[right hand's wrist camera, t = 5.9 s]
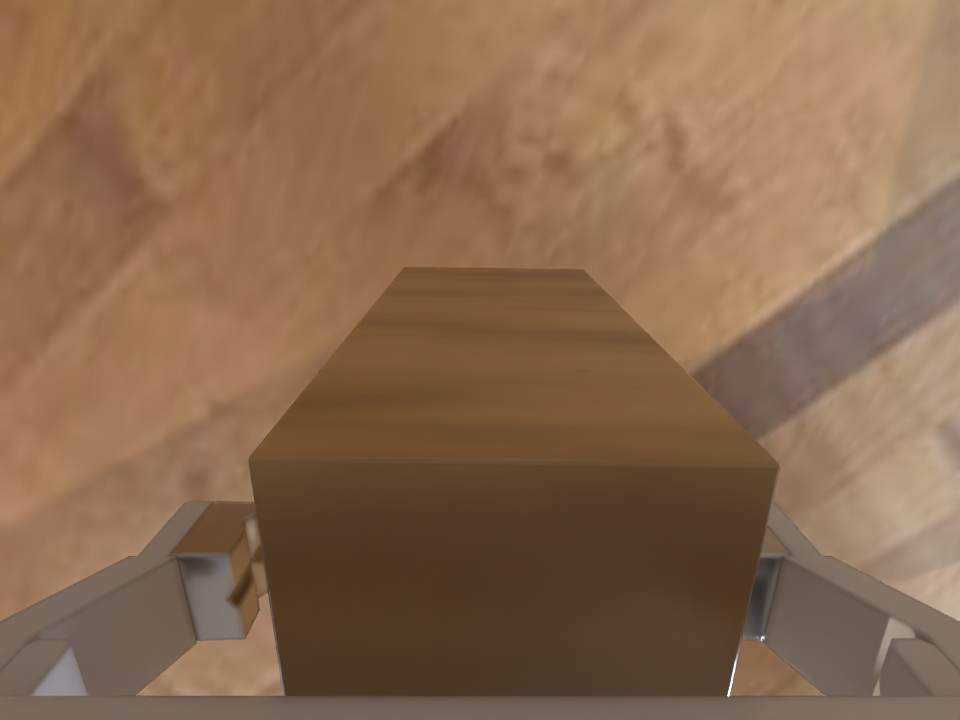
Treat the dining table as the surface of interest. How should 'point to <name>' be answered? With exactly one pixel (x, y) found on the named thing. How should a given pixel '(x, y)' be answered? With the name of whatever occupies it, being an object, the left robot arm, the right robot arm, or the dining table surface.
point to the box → (508, 502)
